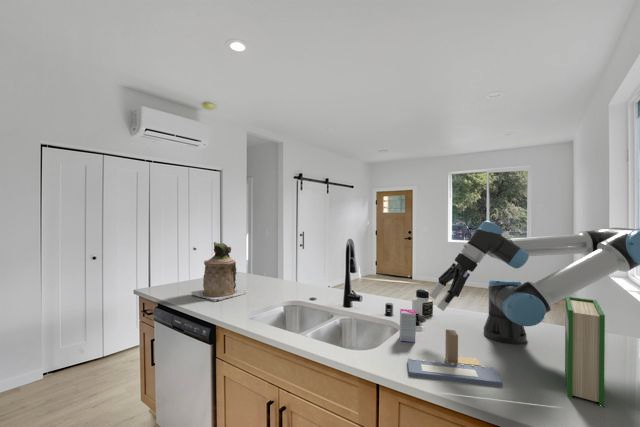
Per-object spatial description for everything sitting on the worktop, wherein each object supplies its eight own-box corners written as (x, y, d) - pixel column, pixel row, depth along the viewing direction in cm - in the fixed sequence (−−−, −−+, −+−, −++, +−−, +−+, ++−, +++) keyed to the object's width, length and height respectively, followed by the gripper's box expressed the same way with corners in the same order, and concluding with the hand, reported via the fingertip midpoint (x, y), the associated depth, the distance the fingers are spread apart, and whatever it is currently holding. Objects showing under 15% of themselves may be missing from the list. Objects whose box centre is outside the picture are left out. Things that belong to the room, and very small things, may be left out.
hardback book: (604, 407, 82) (604, 315, 82) (567, 397, 86) (568, 309, 86) (595, 378, 96) (596, 300, 96) (564, 371, 101) (565, 296, 101)
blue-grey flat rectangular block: (492, 372, 100) (492, 366, 100) (502, 387, 91) (502, 381, 91) (407, 363, 105) (407, 358, 105) (409, 376, 97) (409, 371, 97)
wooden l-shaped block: (476, 360, 107) (477, 331, 107) (481, 367, 102) (481, 337, 102) (445, 357, 109) (445, 329, 109) (448, 364, 104) (448, 334, 104)
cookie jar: (216, 302, 175) (216, 245, 175) (189, 296, 189) (189, 242, 188) (249, 293, 196) (249, 241, 196) (222, 287, 209) (222, 239, 209)
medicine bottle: (422, 317, 152) (422, 292, 152) (411, 313, 159) (411, 289, 159) (433, 315, 156) (433, 290, 155) (422, 311, 162) (422, 287, 162)
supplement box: (415, 343, 121) (416, 313, 121) (400, 342, 123) (400, 312, 123) (414, 337, 127) (414, 309, 127) (399, 336, 128) (399, 308, 128)
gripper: (451, 247, 132) (421, 287, 134) (472, 258, 107) (434, 307, 110) (466, 257, 131) (436, 298, 134) (491, 271, 107) (453, 320, 109)
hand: (435, 302), depth 122 cm, fingers open, 13 cm apart
